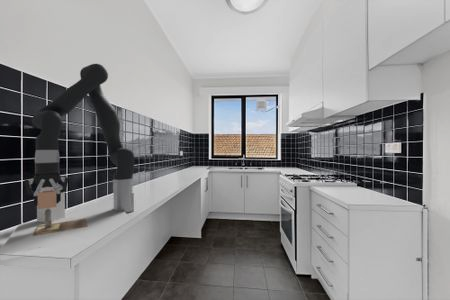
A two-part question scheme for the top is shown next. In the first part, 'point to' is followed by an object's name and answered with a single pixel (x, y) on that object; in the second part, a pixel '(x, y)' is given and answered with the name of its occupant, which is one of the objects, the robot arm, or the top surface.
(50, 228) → the post board
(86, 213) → the top surface
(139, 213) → the top surface
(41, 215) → the milk carton
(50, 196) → the sleeve
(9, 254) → the top surface
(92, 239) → the top surface
